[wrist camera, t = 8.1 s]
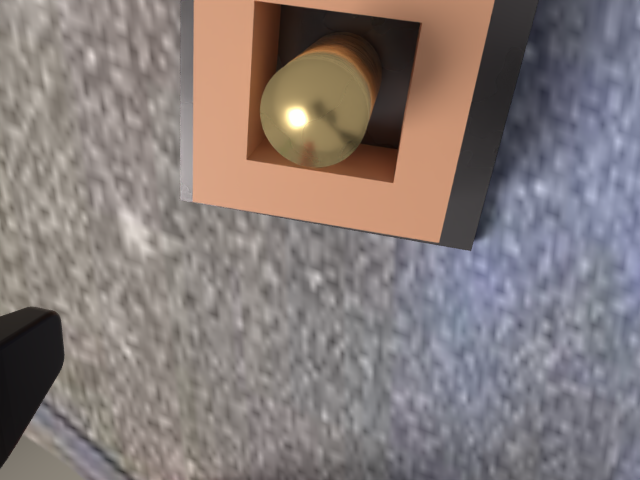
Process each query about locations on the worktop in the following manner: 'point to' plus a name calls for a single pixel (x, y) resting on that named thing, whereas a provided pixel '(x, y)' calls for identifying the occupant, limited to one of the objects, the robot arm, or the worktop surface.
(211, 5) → the ring
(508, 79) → the black plate with peg
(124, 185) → the worktop surface
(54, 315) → the robot arm
